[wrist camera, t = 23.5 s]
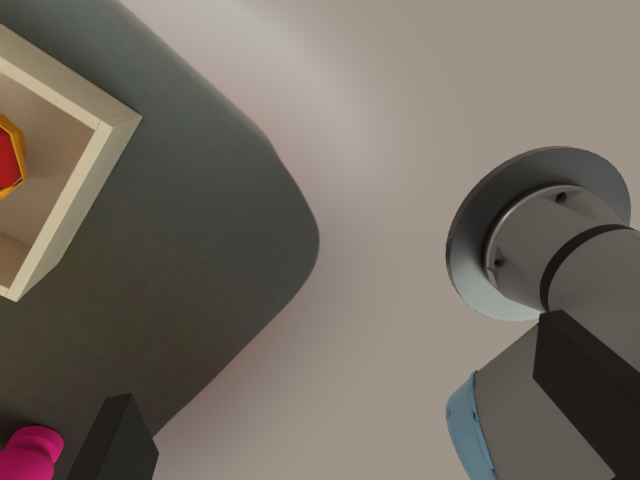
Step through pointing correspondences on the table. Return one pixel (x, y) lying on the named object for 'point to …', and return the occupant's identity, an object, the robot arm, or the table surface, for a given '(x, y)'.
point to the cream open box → (52, 158)
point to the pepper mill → (30, 454)
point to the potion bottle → (11, 156)
